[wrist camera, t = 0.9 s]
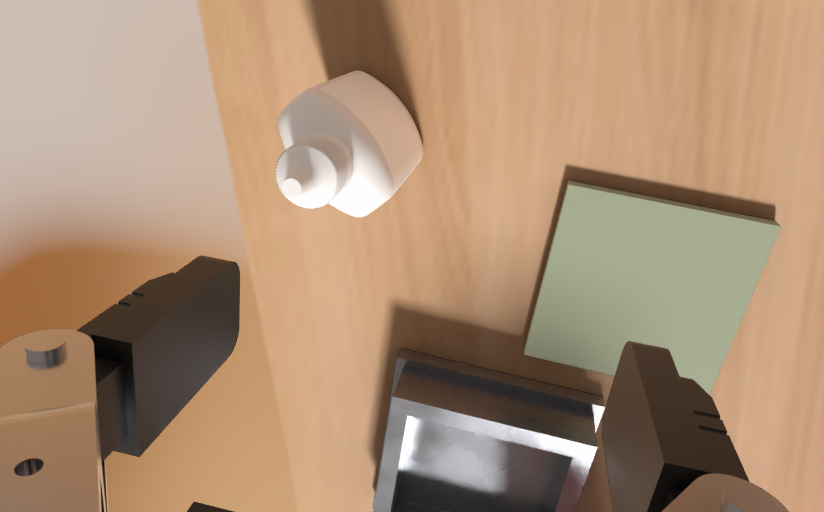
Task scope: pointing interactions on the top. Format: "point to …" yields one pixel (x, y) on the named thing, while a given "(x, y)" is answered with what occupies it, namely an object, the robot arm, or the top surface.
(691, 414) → the robot arm
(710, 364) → the rubber mat
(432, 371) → the socket block
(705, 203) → the top surface
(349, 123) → the eye dropper bottle
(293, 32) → the top surface
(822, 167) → the top surface
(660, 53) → the top surface
